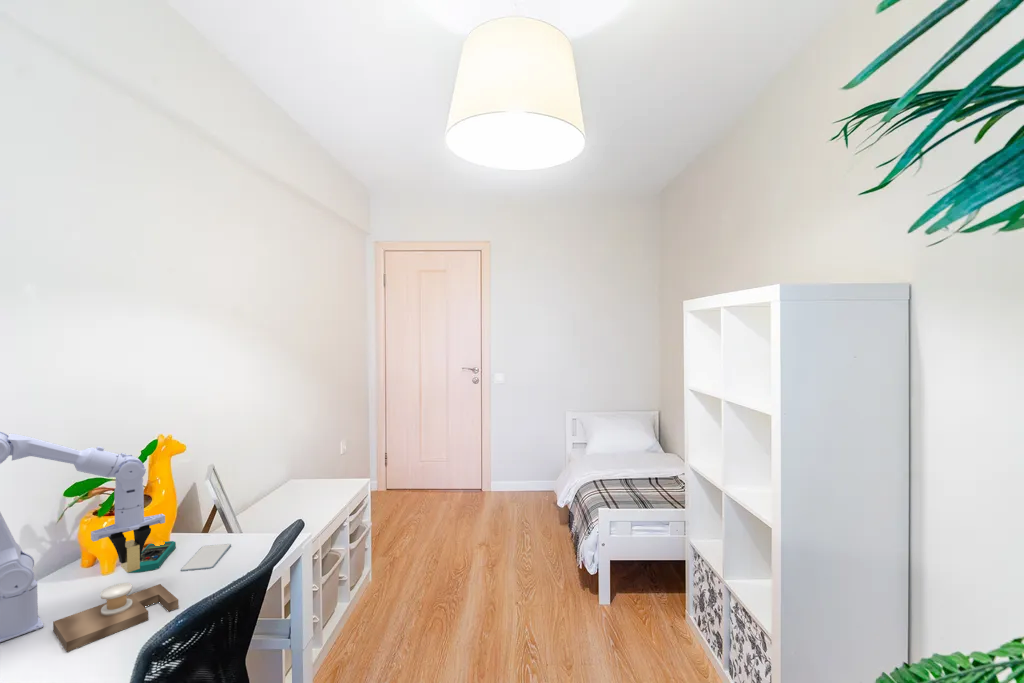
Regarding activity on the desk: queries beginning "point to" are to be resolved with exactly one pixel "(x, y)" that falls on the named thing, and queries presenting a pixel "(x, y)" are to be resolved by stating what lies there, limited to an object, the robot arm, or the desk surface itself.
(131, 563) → the brass tab
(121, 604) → the bobbin
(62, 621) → the notched board
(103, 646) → the desk surface
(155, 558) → the digital multimeter
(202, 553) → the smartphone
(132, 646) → the desk surface
